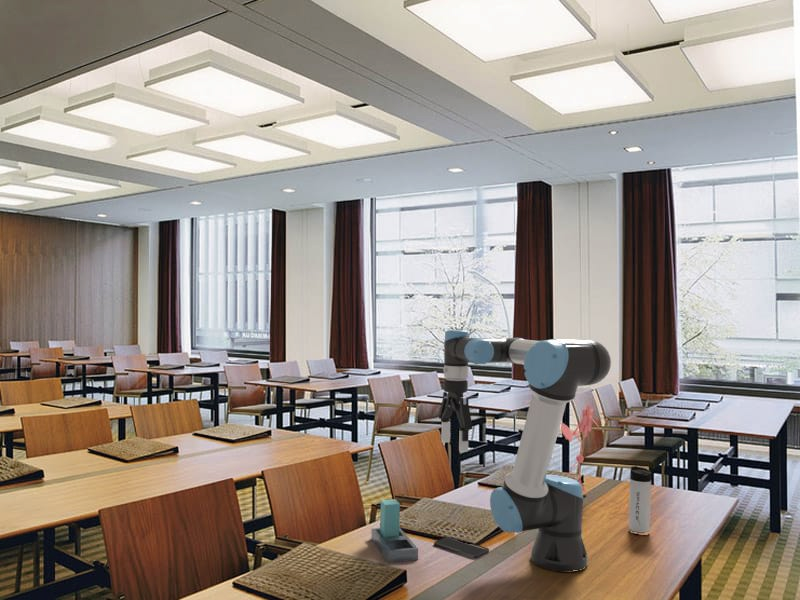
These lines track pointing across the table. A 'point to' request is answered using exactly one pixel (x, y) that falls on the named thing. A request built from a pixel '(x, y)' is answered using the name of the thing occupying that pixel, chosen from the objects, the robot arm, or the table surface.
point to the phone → (461, 547)
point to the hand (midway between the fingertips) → (454, 446)
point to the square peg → (389, 518)
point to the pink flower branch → (584, 427)
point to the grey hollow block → (395, 546)
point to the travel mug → (639, 500)
